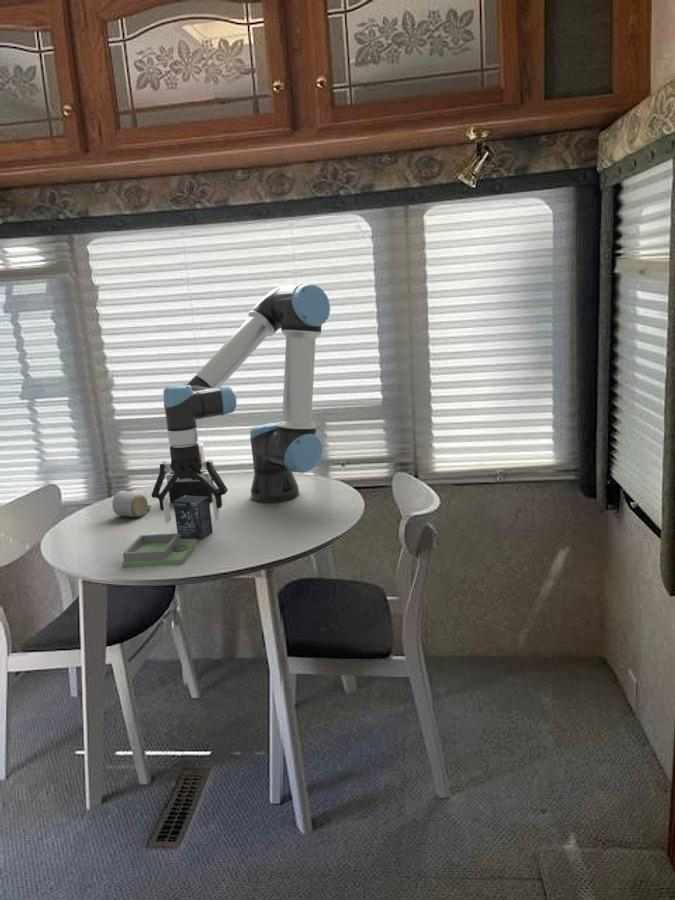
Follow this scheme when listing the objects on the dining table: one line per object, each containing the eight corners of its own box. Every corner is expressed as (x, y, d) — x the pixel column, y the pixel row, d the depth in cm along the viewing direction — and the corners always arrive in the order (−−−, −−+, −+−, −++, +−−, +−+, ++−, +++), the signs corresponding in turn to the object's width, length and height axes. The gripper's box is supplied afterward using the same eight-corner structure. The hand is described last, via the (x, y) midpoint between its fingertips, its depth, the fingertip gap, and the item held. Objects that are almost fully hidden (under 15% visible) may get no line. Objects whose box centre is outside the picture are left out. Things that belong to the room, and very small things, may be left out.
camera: (220, 495, 225) (216, 465, 222) (211, 503, 217) (207, 472, 214) (179, 496, 227) (175, 466, 225) (169, 504, 219) (165, 473, 217)
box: (177, 538, 188) (172, 501, 185) (189, 530, 193) (184, 494, 190) (202, 540, 185) (197, 502, 182) (213, 532, 190) (209, 495, 188)
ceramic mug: (134, 521, 205) (131, 496, 203) (113, 518, 208) (110, 494, 207) (158, 510, 214) (155, 486, 212) (137, 508, 218) (134, 484, 216)
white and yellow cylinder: (193, 482, 242) (188, 440, 238) (210, 481, 241) (205, 440, 237) (187, 487, 236) (182, 444, 232) (204, 487, 235) (199, 444, 231)
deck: (197, 542, 183) (195, 531, 182) (182, 564, 169) (180, 551, 169) (141, 545, 184) (140, 534, 183) (122, 566, 171) (121, 554, 170)
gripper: (233, 438, 186) (240, 514, 190) (142, 443, 188) (152, 517, 192) (227, 445, 178) (235, 523, 183) (132, 449, 180) (143, 526, 185)
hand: (192, 520), depth 188 cm, fingers open, 13 cm apart
